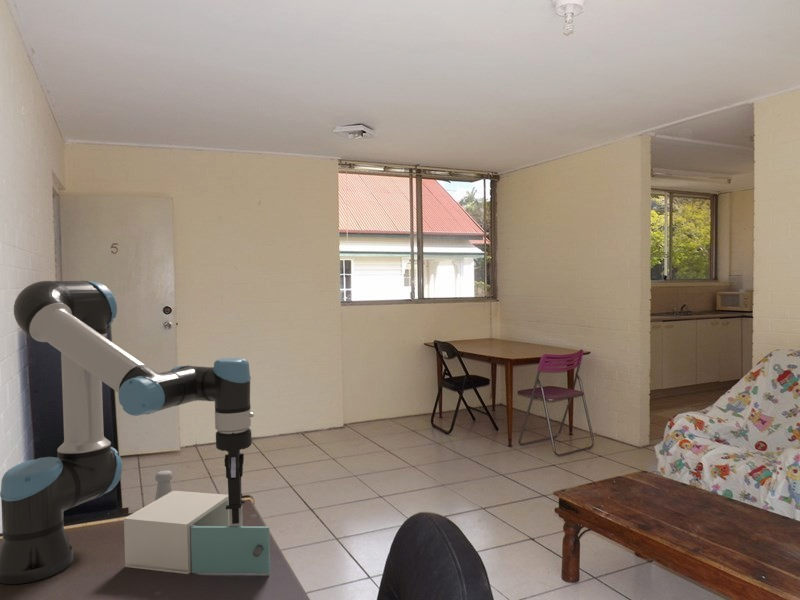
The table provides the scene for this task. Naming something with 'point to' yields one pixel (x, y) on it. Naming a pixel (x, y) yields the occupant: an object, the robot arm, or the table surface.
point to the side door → (230, 549)
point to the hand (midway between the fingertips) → (236, 535)
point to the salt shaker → (163, 483)
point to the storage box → (170, 529)
